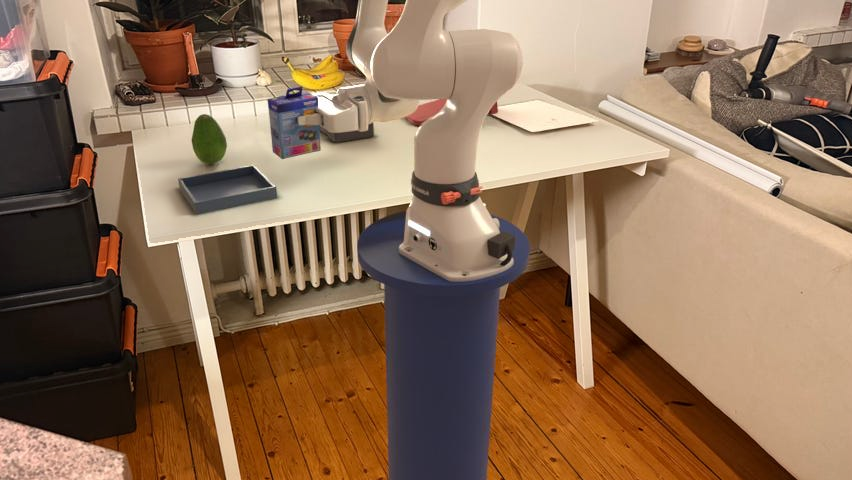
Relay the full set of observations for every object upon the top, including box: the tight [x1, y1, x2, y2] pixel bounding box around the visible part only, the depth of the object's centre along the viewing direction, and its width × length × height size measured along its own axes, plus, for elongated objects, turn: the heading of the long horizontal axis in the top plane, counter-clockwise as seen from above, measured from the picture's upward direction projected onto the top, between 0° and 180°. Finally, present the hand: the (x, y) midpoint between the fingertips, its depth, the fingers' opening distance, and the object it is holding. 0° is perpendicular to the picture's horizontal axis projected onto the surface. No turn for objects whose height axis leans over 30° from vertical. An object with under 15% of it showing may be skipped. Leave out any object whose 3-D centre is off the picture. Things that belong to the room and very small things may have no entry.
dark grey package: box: [319, 122, 375, 143], centre depth 185 cm, size 11×4×15 cm
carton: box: [404, 99, 499, 127], centre depth 196 cm, size 12×5×25 cm
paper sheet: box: [488, 99, 599, 133], centre depth 194 cm, size 24×29×1 cm
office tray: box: [177, 164, 278, 215], centre depth 150 cm, size 15×17×2 cm
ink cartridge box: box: [267, 85, 322, 160], centre depth 150 cm, size 10×6×14 cm, turn 124°
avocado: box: [191, 113, 228, 165], centre depth 164 cm, size 8×8×12 cm
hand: (291, 116), depth 149 cm, fingers closed on ink cartridge box, 5 cm apart
